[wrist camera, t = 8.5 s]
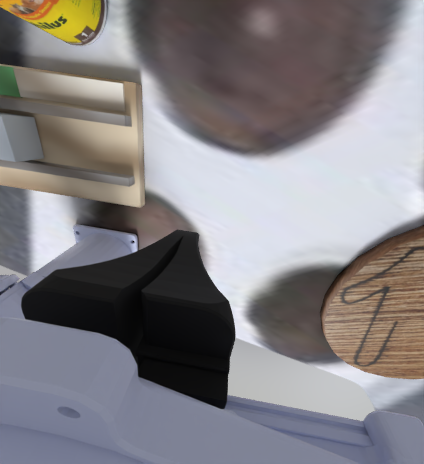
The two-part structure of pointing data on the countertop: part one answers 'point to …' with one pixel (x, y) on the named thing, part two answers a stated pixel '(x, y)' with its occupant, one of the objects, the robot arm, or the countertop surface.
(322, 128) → the countertop surface
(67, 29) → the supplement bottle
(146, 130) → the countertop surface
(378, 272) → the trivet
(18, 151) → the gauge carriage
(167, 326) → the robot arm
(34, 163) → the gauge base
